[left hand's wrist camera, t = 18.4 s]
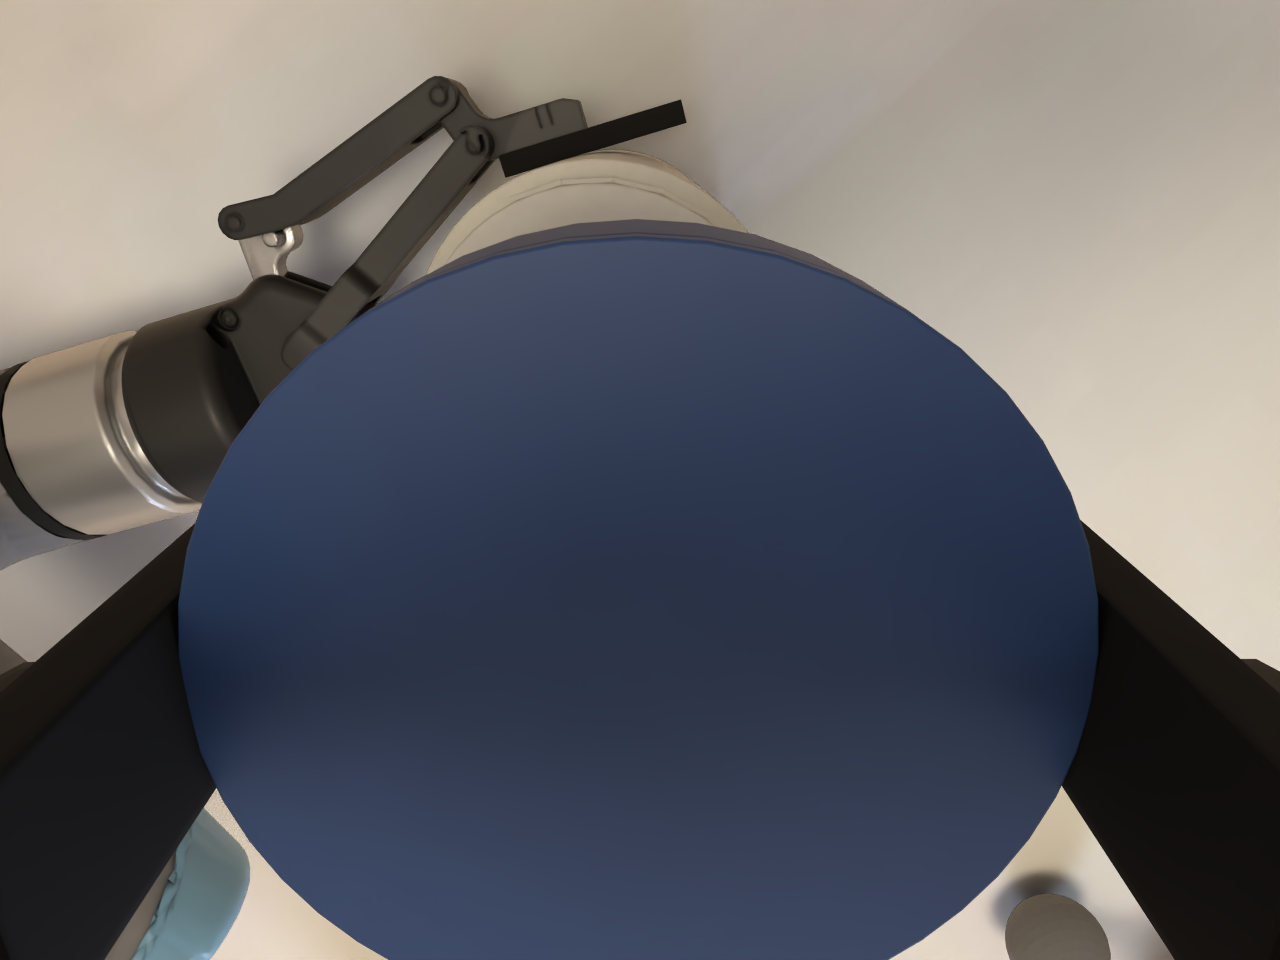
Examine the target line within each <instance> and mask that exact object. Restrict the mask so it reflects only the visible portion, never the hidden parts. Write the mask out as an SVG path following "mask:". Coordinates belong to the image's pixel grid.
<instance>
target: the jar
mask: <svg viewBox="0 0 1280 960" xmlns="http://www.w3.org/2000/svg"><path fill="white" fill-rule="evenodd" d="M630 219H644V220H660V221H676V222H692V223H700V224H705V225H710V226H715V227H720V228H725V229H730V230H734V231H739V232H744V233H748V231H747V230H746V229H745V228H744V227H743V226H742V225H741V224H740V222H739V221H738V220H737V219H736V218H735V217H734V216H733V215H732V214H731V212H729V211H728V210H727V209H726V208H725V207H723V206H722V205H721V204H720V203H719V202H718V201H716V200H715V199H714V198H713V197H712V196H711V195H709V194H708V193H707V192H705V191H704V190H703V189H702V188H700V187H699V186H698V185H696V184H695V183H694V182H693V181H691V180H690V179H689V178H687V177H686V176H685V175H684V174H682V173H681V172H680V171H678V170H676V169H675V168H673V167H672V166H670V165H669V164H667V163H665V162H663V161H661V160H658V159H656V158H654V157H651V156H648V155H645V154H642V153H638V152H632V151H626V150H601V151H593V152H588V153H585V154H582V155H578V156H575V157H572V158H569V159H565V160H562V161H558V162H555V163H552V164H549V165H546V166H543V167H540V168H537V169H534V170H532V171H530V172H527V173H525V174H523V175H520V176H518V177H515V178H513V179H511V180H510V181H508V182H506V183H505V184H503V185H501V186H500V187H498V188H496V189H495V190H493V191H491V192H490V193H489V194H487V195H486V196H485V197H484V198H483V199H481V200H480V201H479V202H478V203H476V204H475V205H474V206H473V207H472V208H470V209H469V210H468V212H467V213H466V214H465V215H464V216H463V217H462V218H461V219H460V220H459V221H458V222H457V224H456V225H455V226H454V227H453V228H452V230H451V231H450V232H449V234H448V235H447V237H446V238H445V240H444V241H443V243H442V244H441V245H440V247H439V249H438V251H437V253H436V255H435V257H434V259H433V261H432V263H431V265H430V267H429V269H428V271H427V274H429V273H431V272H433V271H435V270H437V269H439V268H440V267H442V266H444V265H446V264H448V263H450V262H452V261H454V260H456V259H457V258H459V257H461V256H463V255H466V254H469V253H472V252H474V251H477V250H480V249H483V248H485V247H488V246H491V245H494V244H496V243H499V242H502V241H505V240H508V239H510V238H513V237H516V236H519V235H524V234H529V233H533V232H538V231H543V230H547V229H552V228H557V227H562V226H566V225H571V224H576V223H588V222H602V221H616V220H630ZM427 274H426V275H427Z"/></svg>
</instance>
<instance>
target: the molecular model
mask: <svg viewBox="0 0 1280 960" xmlns="http://www.w3.org/2000/svg"><path fill="white" fill-rule="evenodd" d="M1005 941H1006V948H1007V952H1008V955H1009V958H1010V960H1110V959H1111V953H1110V948H1109V944H1108V940H1107V937H1106V935H1105V933H1104V931H1103V929H1102V927H1101V925H1100V924H1099V922H1098V921H1097V920H1096V918H1095V917H1094V916H1093V915H1092V914H1091V913H1090V912H1089V911H1088V910H1087V909H1086V908H1085V907H1083V906H1082V905H1080V904H1079V903H1077V902H1075V901H1074V900H1072V899H1070V898H1067V897H1065V896H1061V895H1056V894H1038V895H1035V896H1031V897H1029V898H1027V899H1025V900H1024V901H1022V902H1021V903H1019V904H1018V905H1017V906H1016V907H1015V908H1014V910H1013V911H1012V913H1011V915H1010V917H1009V919H1008V922H1007V925H1006V931H1005Z"/></svg>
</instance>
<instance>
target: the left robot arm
mask: <svg viewBox="0 0 1280 960" xmlns="http://www.w3.org/2000/svg"><path fill="white" fill-rule="evenodd" d="M1080 521H1081V520H1080ZM1081 524H1082V527H1083V530H1084V533H1085V536H1086V539H1087V542H1088V545H1089V550H1090V555H1091V561H1092V567H1093V573H1094V579H1095V585H1096V590H1097V596H1098V631H1099V655H1098V662H1097V668H1096V675H1095V682H1094V688H1093V693H1092V698H1091V703H1090V707H1089V711H1088V715H1087V719H1086V723H1085V727H1084V730H1083V733H1082V737H1081V740H1080V743H1079V747H1078V750H1077V753H1076V755H1075V757H1074V759H1073V761H1072V764H1071V766H1070V768H1069V770H1068V772H1067V774H1066V777H1065V779H1064V781H1063V783H1062V787H1063V788H1064V790H1065V791H1066V793H1067V795H1068V796H1069V798H1070V799H1071V801H1072V802H1073V804H1074V805H1075V807H1076V808H1077V810H1078V811H1079V813H1080V815H1081V816H1082V818H1083V819H1084V821H1085V822H1086V824H1087V825H1088V827H1089V828H1090V830H1091V831H1092V833H1093V835H1094V836H1095V838H1096V839H1097V841H1098V842H1099V844H1100V845H1101V847H1102V848H1103V850H1104V851H1105V853H1106V855H1107V856H1108V858H1109V859H1110V861H1111V862H1112V864H1113V865H1114V867H1115V868H1116V870H1117V871H1118V873H1119V875H1120V876H1121V878H1122V879H1123V881H1124V882H1125V884H1126V885H1127V887H1128V888H1129V890H1130V891H1131V893H1132V895H1133V896H1134V898H1135V899H1136V901H1137V902H1138V904H1139V905H1140V907H1141V908H1142V910H1143V911H1144V913H1145V914H1146V916H1147V918H1148V919H1149V921H1150V922H1151V924H1152V925H1153V927H1154V928H1155V930H1156V931H1157V933H1158V934H1159V936H1160V938H1161V939H1162V941H1163V942H1164V944H1165V945H1166V947H1167V948H1168V950H1169V951H1170V953H1171V954H1172V956H1173V958H1174V959H1175V960H1280V671H1278V670H1276V669H1274V668H1272V667H1270V666H1268V665H1266V664H1265V663H1263V662H1261V661H1259V660H1257V659H1240V658H1239V657H1238V656H1236V655H1235V654H1234V653H1233V652H1232V651H1231V650H1230V649H1228V648H1227V647H1226V646H1225V645H1224V644H1223V643H1221V642H1220V641H1219V640H1218V639H1217V638H1216V637H1215V636H1213V635H1212V634H1211V633H1210V632H1209V631H1208V630H1206V629H1205V628H1204V627H1203V626H1202V625H1201V624H1200V623H1198V622H1197V621H1196V620H1195V619H1194V618H1193V617H1192V616H1190V615H1189V614H1188V613H1187V612H1186V611H1185V610H1183V609H1182V608H1181V607H1180V606H1179V605H1178V604H1177V603H1175V602H1174V601H1173V600H1172V599H1171V598H1170V597H1168V596H1167V595H1166V594H1165V593H1164V592H1163V591H1162V590H1160V589H1159V588H1158V587H1157V586H1156V585H1155V584H1154V583H1152V582H1151V581H1150V580H1149V579H1148V578H1147V577H1145V576H1144V575H1143V574H1142V573H1141V572H1140V571H1139V570H1137V569H1136V568H1135V567H1134V566H1133V565H1132V564H1130V563H1129V562H1128V561H1127V560H1126V559H1125V558H1124V557H1122V556H1121V555H1120V554H1119V553H1118V552H1117V551H1116V550H1114V549H1113V548H1112V547H1111V546H1110V545H1109V544H1107V543H1106V542H1105V541H1104V540H1103V539H1102V538H1101V537H1099V536H1098V535H1097V534H1096V533H1095V532H1094V531H1092V530H1091V529H1090V528H1089V527H1088V526H1087V525H1086V524H1084V523H1083V522H1082V521H1081ZM194 526H195V524H194V525H193V526H192V527H190V528H189V529H188V530H187V531H186V532H185V533H183V534H182V535H181V536H180V537H179V538H178V539H177V540H175V541H174V542H173V543H172V544H171V545H170V546H168V547H167V548H166V549H165V550H164V551H163V552H162V553H160V554H159V555H158V556H157V557H156V558H155V559H154V560H152V561H151V562H150V563H149V564H148V565H147V566H145V567H144V568H143V569H142V570H141V571H140V572H139V573H137V574H136V575H135V576H134V577H133V578H132V579H130V580H129V581H128V582H127V583H126V584H125V585H124V586H122V587H121V588H120V589H119V590H118V591H117V592H116V593H114V594H113V595H112V596H111V597H110V598H109V599H107V600H106V601H105V602H104V603H103V604H102V605H101V606H99V607H98V608H97V609H96V610H95V611H94V612H92V613H91V614H90V615H89V616H88V617H87V618H86V619H84V620H83V621H82V622H81V623H80V624H79V625H78V626H76V627H75V628H74V629H73V630H72V631H71V632H69V633H68V634H67V635H66V636H65V637H64V638H63V639H61V640H60V641H59V642H58V643H57V644H56V645H54V646H53V647H52V648H51V649H50V650H49V651H48V652H46V653H45V654H44V655H43V656H42V657H41V658H40V659H38V660H37V661H36V662H23V663H22V664H20V665H18V666H16V667H14V668H12V669H10V670H8V671H6V672H5V673H3V674H1V675H0V960H105V958H106V957H107V955H108V954H109V952H110V950H111V949H112V947H113V946H114V944H115V943H116V941H117V940H118V938H119V937H120V935H121V934H122V932H123V931H124V929H125V927H126V926H127V924H128V923H129V921H130V920H131V918H132V917H133V915H134V914H135V912H136V911H137V909H138V907H139V906H140V904H141V903H142V901H143V900H144V898H145V897H146V895H147V894H148V892H149V891H150V889H151V887H152V886H153V884H154V883H155V881H156V880H157V878H158V877H159V875H160V874H161V872H162V871H163V869H164V867H165V866H166V864H167V863H168V861H169V860H170V858H171V857H172V855H173V854H174V852H175V851H176V849H177V848H178V846H179V844H180V843H181V841H182V840H183V838H184V837H185V835H186V834H187V832H188V831H189V829H190V828H191V826H192V824H193V823H194V821H195V820H196V818H197V817H198V815H199V814H200V812H201V811H202V809H203V808H204V806H205V804H206V803H207V801H208V800H209V798H210V797H211V795H212V794H213V792H214V791H215V789H216V788H217V787H216V785H215V783H214V781H213V779H212V777H211V775H210V773H209V770H208V768H207V766H206V764H205V762H204V760H203V758H202V756H201V753H200V749H199V745H198V741H197V737H196V733H195V729H194V725H193V721H192V717H191V712H190V708H189V704H188V699H187V695H186V690H185V685H184V681H183V676H182V671H181V666H180V662H179V657H178V602H179V596H180V590H181V584H182V577H183V571H184V565H185V558H186V552H187V548H188V545H189V542H190V539H191V536H192V532H193V529H194Z"/></svg>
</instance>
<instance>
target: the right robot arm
mask: <svg viewBox="0 0 1280 960" xmlns="http://www.w3.org/2000/svg"><path fill="white" fill-rule="evenodd" d="M684 123H686V119H685V114H684V110H683V106H682V102H681V100H678V101H674V102H671V103H668V104H665V105H661V106H658V107H655V108H652V109H648V110H645V111H642V112H639V113H635V114H632V115H629V116H626V117H622V118H619V119H616V120H613V121H609V122H606V123H603V124H599V125H596V126H593V127H590V128H588V127H587V123H586V120H585V116H584V113H583V109H582V105H581V102H580V101H579V100H572V99H563V98H562V99H559V100H556V101H552V102H549V103H546V104H543V105H540V106H536V107H533V108H530V109H527V110H524V111H520V112H517V113H514V114H511V115H507V116H504V117H501V118H497V119H491V118H488V117H487V116H485V115H484V114H483V113H482V112H481V111H480V110H479V108H478V107H477V106H476V104H475V103H474V101H473V100H472V99H471V97H470V96H469V94H468V92H467V89H466V88H465V87H464V86H463V85H462V84H461V83H459V82H457V81H455V80H451V79H448V78H445V77H442V76H434V77H432V78H429V79H428V80H426V81H425V82H424V83H422V84H421V85H420V86H418V87H417V88H416V89H414V90H413V91H412V92H410V93H409V94H408V95H406V96H405V97H404V98H402V99H401V100H399V101H398V102H397V103H395V104H394V105H393V106H391V107H390V108H389V109H387V110H386V111H385V112H383V113H382V114H381V115H379V116H378V117H377V118H375V119H374V120H373V121H371V122H370V123H369V124H367V125H366V126H365V127H363V128H362V129H361V130H359V131H358V132H357V133H355V134H354V135H353V136H351V137H350V138H349V139H347V140H346V141H344V142H343V143H342V144H340V145H339V146H338V147H336V148H335V149H334V150H332V151H331V152H330V153H328V154H327V155H326V156H324V157H323V158H322V159H320V160H319V161H318V162H316V163H315V164H314V165H312V166H311V167H310V168H308V169H307V170H306V171H304V172H303V173H302V174H300V175H299V176H298V177H296V178H295V179H294V180H292V181H291V182H289V183H288V184H287V185H285V186H284V187H283V188H281V189H280V190H279V191H277V192H276V193H275V194H273V195H270V196H266V197H262V198H258V199H253V200H249V201H245V202H241V203H237V204H233V205H229V206H227V207H225V208H223V209H222V210H221V212H220V213H219V216H218V223H219V227H220V229H221V231H222V232H223V233H224V234H225V235H226V236H227V237H228V238H231V239H234V240H239V243H240V246H241V248H242V251H243V253H244V256H245V259H246V261H247V264H248V267H249V269H250V272H251V274H252V277H253V280H254V281H252V282H251V283H250V284H249V286H248V287H247V288H246V289H245V291H244V292H243V293H242V294H240V295H239V296H238V297H236V298H233V299H230V300H227V301H224V302H220V303H217V304H214V305H210V306H207V307H204V308H200V309H197V310H194V311H190V312H187V313H184V314H180V315H177V316H174V317H170V318H167V319H164V320H160V321H157V322H154V323H150V324H147V325H146V326H144V327H142V328H141V329H140V330H138V331H137V332H135V331H124V332H121V333H118V334H114V335H111V336H107V337H104V338H101V339H97V340H94V341H90V342H87V343H84V344H80V345H77V346H73V347H70V348H67V349H63V350H60V351H56V352H53V353H50V354H46V355H43V356H40V357H36V358H33V359H32V360H30V361H27V362H24V363H21V364H17V365H15V366H13V367H11V368H8V369H4V370H1V371H0V571H1V570H2V569H4V568H6V567H8V566H10V565H12V564H14V563H16V562H19V561H21V560H23V559H26V558H29V557H32V556H35V555H38V554H42V553H45V552H48V551H52V550H55V549H58V548H62V547H65V546H68V545H72V544H76V543H79V542H83V541H86V540H89V539H93V538H97V537H102V536H105V535H109V534H112V533H116V532H120V531H124V530H128V529H131V528H135V527H139V526H143V525H147V524H151V523H154V522H158V521H162V520H166V519H170V518H173V517H177V516H181V515H185V514H189V513H193V512H196V511H198V510H200V508H201V505H202V502H203V499H204V496H205V494H206V492H207V490H208V488H209V486H210V485H211V483H212V481H213V479H214V477H215V475H216V473H217V471H218V469H219V467H220V465H221V463H222V461H223V459H224V458H225V456H226V454H227V452H228V450H229V448H230V446H231V444H232V443H233V442H234V440H235V439H236V437H237V436H238V435H239V433H240V432H241V431H242V429H243V428H244V427H245V425H246V424H247V423H248V421H249V420H250V418H251V417H252V416H253V414H254V413H255V412H256V410H257V409H258V408H259V406H260V405H261V404H262V402H263V401H264V399H265V398H266V397H267V396H268V395H269V394H270V393H271V392H272V391H273V390H274V389H275V388H276V387H277V386H278V385H279V384H280V383H281V382H282V381H283V380H284V379H285V378H286V377H287V376H288V375H289V374H290V373H291V372H292V371H293V370H294V369H295V368H296V367H297V366H298V365H299V364H300V363H301V362H302V361H303V360H304V359H305V358H306V357H307V356H308V355H309V354H310V353H311V352H312V351H313V350H315V349H316V348H317V347H319V346H320V345H321V344H323V343H324V342H325V341H327V340H328V339H330V338H331V337H332V336H334V335H335V334H336V333H338V332H339V331H341V330H342V329H343V328H345V327H346V326H347V325H349V324H350V323H351V322H353V321H354V320H356V319H357V318H358V317H360V316H361V315H362V314H364V313H365V312H367V311H368V310H370V309H371V308H373V307H375V306H376V304H377V302H378V301H379V300H380V299H381V298H382V296H383V295H384V294H385V293H386V292H387V291H388V289H389V288H390V287H391V286H392V284H393V283H394V282H395V280H396V278H397V277H398V276H399V274H400V273H401V272H402V271H403V269H404V268H405V267H406V266H407V265H408V264H409V262H410V261H411V260H412V259H413V258H414V256H415V255H416V254H417V253H418V252H419V250H420V249H421V248H422V247H423V246H424V244H425V243H426V242H427V241H428V240H429V238H430V237H431V236H432V235H433V234H434V232H435V231H436V230H437V229H438V228H439V227H440V225H441V224H442V223H443V222H444V221H445V219H446V218H447V217H448V216H449V215H450V213H451V212H452V211H453V210H454V209H455V207H456V206H457V205H458V204H459V203H460V201H461V200H462V199H463V198H464V197H465V195H466V194H467V193H468V192H469V191H470V190H471V188H472V187H473V186H474V185H475V184H476V182H477V181H478V180H479V179H480V178H481V176H482V175H483V174H484V173H485V172H486V170H487V169H488V168H489V167H490V166H491V164H492V163H493V162H494V161H495V160H496V159H497V158H499V159H500V162H501V165H502V168H503V171H504V174H505V178H506V177H509V176H513V175H516V174H519V173H522V172H526V171H529V170H532V169H536V168H539V167H542V166H545V165H549V164H552V163H555V162H558V161H562V160H565V159H569V158H572V157H575V156H578V155H582V154H585V153H588V152H592V151H595V150H598V149H601V148H605V147H608V146H611V145H615V144H618V143H621V142H624V141H628V140H631V139H634V138H638V137H641V136H644V135H648V134H651V133H654V132H657V131H661V130H664V129H667V128H671V127H674V126H677V125H680V124H684ZM442 128H445V129H446V131H447V132H448V133H449V135H450V136H451V138H452V139H453V140H454V142H453V143H452V144H451V145H450V146H449V148H448V149H447V150H446V151H445V153H444V154H443V155H442V156H441V158H440V159H439V160H438V161H437V162H436V164H435V165H434V166H433V167H432V169H431V170H430V171H429V172H428V173H427V175H426V176H425V177H424V178H423V180H422V181H421V182H420V183H419V185H418V186H417V187H416V188H415V189H414V191H413V192H412V193H411V194H410V196H409V197H408V198H407V199H406V200H405V202H404V203H403V204H402V205H401V207H400V208H399V209H398V210H397V211H396V213H395V214H394V215H393V216H392V218H391V219H390V220H389V221H388V223H387V224H386V225H385V226H384V227H383V229H382V230H381V231H380V232H379V234H378V235H377V236H376V237H375V238H374V240H373V241H372V242H371V243H370V245H369V246H368V247H367V248H366V249H365V251H364V252H363V253H362V254H361V256H360V257H359V258H358V259H357V261H356V262H355V263H354V264H353V265H352V266H351V267H350V268H349V269H348V270H346V272H345V273H344V274H343V275H342V276H341V277H340V278H339V279H338V281H337V282H336V283H335V284H334V285H333V287H332V286H330V285H327V284H324V283H321V282H318V281H315V280H312V279H310V278H307V277H304V276H301V275H298V274H295V273H293V272H289V271H287V267H286V259H287V257H288V255H289V254H290V253H291V252H292V251H294V250H295V249H297V248H299V246H300V245H301V244H302V241H303V232H302V229H301V226H300V225H302V224H305V223H308V222H310V221H312V220H315V219H317V218H319V217H320V216H322V215H324V214H325V213H327V212H328V211H330V210H331V209H333V208H334V207H335V206H337V205H338V204H339V203H341V202H342V201H343V200H345V199H346V198H348V197H349V196H350V195H352V194H353V193H354V192H356V191H357V190H359V189H360V188H361V187H363V186H364V185H365V184H367V183H368V182H370V181H371V180H372V179H374V178H375V177H376V176H378V175H379V174H381V173H382V172H383V171H385V170H386V169H387V168H389V167H390V166H392V165H393V164H394V163H396V162H397V161H398V160H400V159H401V158H402V157H404V156H405V155H407V154H408V153H409V152H411V151H412V150H413V149H415V148H416V147H418V146H419V145H420V144H422V143H423V142H424V141H426V140H427V139H429V138H430V137H431V136H433V135H434V134H435V133H437V132H438V131H440V130H441V129H442ZM23 662H27V661H26V660H25V659H23V658H22V657H21V656H20V655H19V654H17V653H16V652H15V651H14V650H13V649H11V648H10V647H9V646H8V645H7V644H5V643H4V642H3V641H2V640H1V639H0V675H1V674H3V673H5V672H6V671H8V670H10V669H12V668H14V667H16V666H18V665H20V664H22V663H23ZM249 881H250V865H249V860H248V856H247V854H246V852H245V850H244V849H243V848H242V846H241V845H240V844H239V843H238V842H237V841H236V840H235V839H234V838H233V837H232V836H231V835H230V834H229V833H228V832H227V831H226V830H225V829H224V828H223V827H222V826H221V825H220V824H219V823H218V822H217V821H216V820H215V819H214V818H213V817H212V816H211V815H210V814H209V813H208V812H207V811H206V810H205V809H204V808H203V809H202V811H201V812H200V814H199V815H198V817H197V818H196V820H195V821H194V823H193V824H192V826H191V828H190V829H189V831H188V832H187V834H186V835H185V837H184V838H183V840H182V841H181V843H180V844H179V846H178V848H177V849H176V851H175V852H174V854H173V855H172V857H171V858H170V860H169V861H168V863H167V864H166V866H165V867H164V869H163V871H162V872H161V874H160V875H159V877H158V878H157V880H156V881H155V883H154V884H153V886H152V887H151V889H150V891H149V892H148V894H147V895H146V897H145V898H144V900H143V901H142V903H141V904H140V906H139V907H138V909H137V911H136V912H135V914H134V915H133V917H132V918H131V920H130V921H129V923H128V924H127V926H126V927H125V929H124V931H123V932H122V934H121V935H120V937H119V938H118V940H117V941H116V943H115V944H114V946H113V947H112V949H111V950H110V952H109V954H108V955H107V957H106V958H105V960H209V959H211V958H212V956H213V955H214V954H215V952H216V951H217V949H218V948H219V946H220V945H221V943H222V942H223V940H224V939H225V937H226V936H227V934H228V932H229V930H230V929H231V927H232V925H233V923H234V921H235V920H236V918H237V916H238V914H239V912H240V909H241V907H242V904H243V902H244V899H245V897H246V894H247V890H248V886H249Z"/></svg>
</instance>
